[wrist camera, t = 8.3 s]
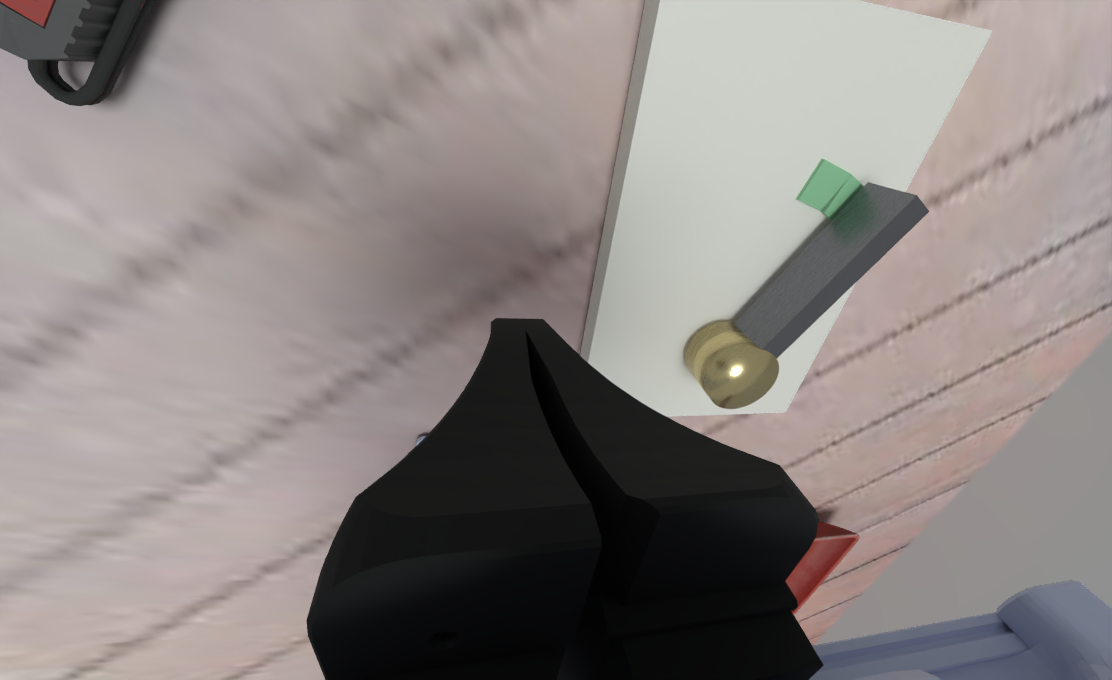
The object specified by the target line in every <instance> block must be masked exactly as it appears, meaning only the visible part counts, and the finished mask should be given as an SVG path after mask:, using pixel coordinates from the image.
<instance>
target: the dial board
mask: <svg viewBox="0 0 1112 680" xmlns="http://www.w3.org/2000/svg"><path fill="white" fill-rule="evenodd" d="M992 32H993V31H991V30H987V29H982V28H978V27H974V26H969V25H965V24H960V23H956V22H952V21H947V20H943V19H939V18H934V17H930V16H925V15H921V14H917V13H912V12H908V11H904V10H899V9H895V8H890V7H886V6H882V5H877V4H873V3H869V2H864V1H860V0H645V4H644V10H643V15H642V21H641V26H640V32H639V37H638V42H637V48H636V53H635V59H634V64H633V70H632V75H631V80H630V86H629V91H628V97H627V102H626V108H625V113H624V118H623V124H622V129H621V135H620V140H619V146H618V151H617V156H616V162H615V167H614V173H613V178H612V184H611V189H610V194H609V200H608V205H607V211H606V216H605V222H604V227H603V232H602V238H601V243H600V249H599V254H598V260H597V265H596V270H595V276H594V281H593V287H592V292H591V298H590V303H589V308H588V314H587V319H586V325H585V330H584V336H583V341H582V346H581V352H580V356H581V357H582V358H583V359H584V360H585V361H587V362H588V363H589V364H590V365H591V366H592V367H593V368H595V369H596V370H597V371H598V372H600V373H601V374H602V375H603V376H605V377H606V378H607V379H608V380H610V381H611V382H612V383H614V384H615V385H616V386H618V387H619V388H621V389H622V390H624V391H625V392H627V393H628V394H629V395H631V396H632V397H634V398H635V399H637V400H638V401H640V402H642V403H643V404H645V405H647V406H648V407H650V408H652V409H653V410H655V411H657V412H659V413H661V414H662V415H664V416H666V417H671V416H699V415H726V414H754V413H781V412H786V411H787V409H788V407H789V405H790V403H791V401H792V399H793V398H794V396H795V394H796V392H797V390H798V388H799V387H800V385H801V383H802V381H803V379H804V377H805V376H806V374H807V372H808V370H809V368H810V366H811V365H812V363H813V361H814V359H815V357H816V355H817V353H818V352H819V350H820V348H821V346H822V344H823V342H824V341H825V339H826V337H827V335H828V333H829V331H830V330H831V328H832V326H833V324H834V322H835V320H836V319H837V317H838V315H839V313H840V311H841V309H842V307H843V306H844V304H845V302H846V300H847V298H848V296H849V295H850V293H851V291H852V289H853V287H854V285H855V284H856V283H855V284H854V285H853V286H852V287H851V288H850V289H849V290H847V291H846V292H845V293H844V294H843V295H842V296H841V297H840V298H839V299H838V300H837V301H836V302H835V303H834V304H833V305H832V306H831V307H830V308H829V309H828V310H827V311H826V312H825V313H824V314H823V315H822V316H821V317H820V318H818V319H817V320H816V321H815V322H814V323H813V324H812V325H811V326H810V327H809V328H808V329H807V330H806V331H805V332H804V333H803V334H802V335H801V336H800V337H799V338H798V339H797V340H796V341H795V342H794V343H793V344H792V345H790V346H789V347H788V348H787V349H786V350H785V351H784V352H783V353H782V354H781V355H780V356H779V357H778V358H777V361H778V363H779V373H778V377H777V379H776V381H775V383H774V385H773V386H772V388H771V389H770V390H769V391H768V392H767V393H766V394H765V395H764V396H763V397H761V398H760V399H759V400H757V401H755V402H754V403H752V404H750V405H747V406H745V407H742V408H737V409H724V408H721V407H718V406H717V405H715V404H714V403H713V402H712V400H711V399H710V398H709V396H708V395H707V394H706V392H705V391H704V390H703V388H702V387H701V386H700V384H699V383H698V382H697V380H696V379H695V378H694V376H693V375H692V374H691V372H690V371H689V370H688V368H687V366H686V364H685V353H686V350H687V347H688V345H689V344H690V342H691V341H692V339H693V338H694V337H695V336H696V335H697V334H698V333H699V332H700V331H702V330H703V329H705V328H706V327H708V326H710V325H712V324H715V323H719V322H726V321H727V322H736V321H737V320H738V319H739V318H740V317H741V316H742V315H743V314H744V313H745V312H746V311H747V310H748V309H749V307H750V306H751V305H752V304H753V303H754V302H755V301H756V300H757V299H758V298H759V297H760V296H761V295H762V294H763V293H764V292H765V291H766V290H767V288H768V287H769V286H770V285H771V284H772V283H773V282H774V281H775V280H776V279H777V278H778V277H779V276H780V275H781V274H782V273H783V272H784V270H785V269H786V268H787V267H788V266H789V265H790V264H791V263H792V262H793V261H794V260H795V259H796V258H797V257H798V256H799V255H800V254H801V253H802V251H803V250H804V249H805V248H806V247H807V246H808V245H809V244H810V243H811V242H812V241H813V240H814V239H815V238H816V237H817V236H818V235H819V234H820V232H821V231H822V230H823V229H824V228H825V227H826V226H827V225H828V224H829V223H830V222H831V221H832V220H833V219H834V218H835V217H836V216H837V214H838V213H839V212H840V211H841V210H842V209H843V208H844V207H845V206H846V205H847V204H848V203H849V202H850V201H851V200H852V199H853V198H854V197H855V195H856V194H857V193H858V192H859V191H860V190H861V189H862V188H863V187H864V186H865V185H866V184H867V183H868V182H869V183H873V184H877V185H880V186H884V187H888V188H892V189H895V190H899V191H903V192H906V190H907V188H908V186H909V184H910V182H911V181H912V179H913V177H914V175H915V173H916V171H917V170H918V168H919V166H920V164H921V162H922V160H923V158H924V157H925V155H926V153H927V151H928V149H929V147H930V146H931V144H932V142H933V140H934V138H935V136H936V135H937V133H938V131H939V129H940V127H941V125H942V124H943V122H944V120H945V118H946V116H947V114H948V112H949V111H950V109H951V107H952V105H953V103H954V101H955V100H956V98H957V96H958V94H959V92H960V90H961V89H962V87H963V85H964V83H965V81H966V79H967V78H968V76H969V74H970V72H971V70H972V68H973V66H974V65H975V63H976V61H977V59H978V57H979V55H980V54H981V52H982V50H983V48H984V46H985V44H986V43H987V41H988V39H989V37H990V35H991V33H992Z"/></svg>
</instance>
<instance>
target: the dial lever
mask: <svg viewBox="0 0 1112 680" xmlns="http://www.w3.org/2000/svg"><path fill="white" fill-rule="evenodd" d="M928 212H929V211H928V209H927V208H926V207H925V205H924V204H923V203H922V202H921V200H920V199H919V198H918V196H917V195H914V194H910V193H906V192H903V191H899V190H895V189H892V188H888V187H884V186H880V185H877V184H873V183H869V182H868V183H867V184H866V185H865V186H864V187H863V188H862V189H861V190H860V191H859V192H858V193H857V194H856V195H855V197H854V198H853V199H852V200H851V201H850V202H849V203H848V204H847V205H846V206H845V207H844V208H843V209H842V210H841V211H840V212H839V213H838V214H837V216H836V217H835V218H834V219H833V220H832V221H831V222H830V223H829V224H828V225H827V226H826V227H825V228H824V229H823V230H822V231H821V232H820V234H819V235H818V236H817V237H816V238H815V239H814V240H813V241H812V242H811V243H810V244H809V245H808V246H807V247H806V248H805V249H804V250H803V251H802V253H801V254H800V255H799V256H798V257H797V258H796V259H795V260H794V261H793V262H792V263H791V264H790V265H789V266H788V267H787V268H786V269H785V270H784V272H783V273H782V274H781V275H780V276H779V277H778V278H777V279H776V280H775V281H774V282H773V283H772V284H771V285H770V286H769V287H768V288H767V290H766V291H765V292H764V293H763V294H762V295H761V296H760V297H759V298H758V299H757V300H756V301H755V302H754V303H753V304H752V305H751V306H750V307H749V309H748V310H747V311H746V312H745V313H744V314H743V315H742V316H741V317H740V318H739V319H738V320H737V321H736V322H727V321H726V322H719V323H715V324H712V325H710V326H708V327H706V328H705V329H703V330H702V331H700V332H699V333H698V334H697V335H696V336H695V337H694V338H693V339H692V341H691V342H690V344H689V345H688V347H687V350H686V353H685V364H686V366H687V368H688V370H689V371H690V372H691V374H692V375H693V376H694V378H695V379H696V380H697V382H698V383H699V384H700V386H701V387H702V388H703V390H704V391H705V392H706V394H707V395H708V396H709V398H710V399H711V400H712V402H713V403H714V404H715V405H717V406H718V407H721V408H724V409H737V408H742V407H745V406H747V405H750V404H752V403H754V402H755V401H757V400H759V399H760V398H761V397H763V396H764V395H765V394H766V393H767V392H768V391H769V390H770V389H771V388H772V386H773V385H774V383H775V381H776V379H777V377H778V373H779V363H778V361H777V358H778V357H779V356H780V355H781V354H782V353H783V352H784V351H785V350H786V349H787V348H788V347H789V346H790V345H792V344H793V343H794V342H795V341H796V340H797V339H798V338H799V337H800V336H801V335H802V334H803V333H804V332H805V331H806V330H807V329H808V328H809V327H810V326H811V325H812V324H813V323H814V322H815V321H816V320H817V319H818V318H820V317H821V316H822V315H823V314H824V313H825V312H826V311H827V310H828V309H829V308H830V307H831V306H832V305H833V304H834V303H835V302H836V301H837V300H838V299H839V298H840V297H841V296H842V295H843V294H844V293H845V292H846V291H847V290H849V289H850V288H851V287H852V286H853V285H854V284H855V283H856V282H857V281H858V280H859V279H860V278H861V277H862V276H863V275H864V274H865V273H866V272H867V271H868V270H869V269H870V268H871V267H872V266H873V265H874V264H875V263H876V262H878V261H879V260H880V259H881V258H882V257H883V256H884V255H885V254H886V253H887V252H888V251H889V250H890V249H891V248H892V247H893V246H894V245H895V244H896V243H897V242H898V241H899V240H900V239H901V238H902V237H903V236H904V235H906V234H907V233H908V232H909V231H910V230H911V229H912V228H913V227H914V226H915V225H916V224H917V223H918V222H919V221H920V220H921V219H922V218H923V217H924V216H925V215H926V214H927V213H928Z"/></svg>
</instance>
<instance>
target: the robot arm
mask: <svg viewBox="0 0 1112 680" xmlns="http://www.w3.org/2000/svg"><path fill="white" fill-rule="evenodd" d="M818 523H819V519H818V516H817V513H816V510H815V509H814V507H813V506H812V505H811V504H810V502H809V501H808V500H807V499H806V497H805V496H804V495H803V494H802V492H801V491H800V490H799V489H798V487H797V486H796V485H795V484H794V482H793V481H792V480H791V479H790V477H789V476H788V475H787V474H786V472H785V471H784V470H783V469H782V468H781V466H780V465H778V464H775V463H772V462H770V461H767V460H764V459H762V458H759V457H756V456H754V455H751V454H748V453H745V452H743V451H740V450H737V449H735V448H732V447H729V446H727V445H724V444H722V443H720V442H717V441H715V440H713V439H711V438H709V437H706V436H704V435H702V434H700V433H697V432H695V431H693V430H691V429H689V428H687V427H685V426H683V425H681V424H679V423H677V422H675V421H673V420H671V419H670V418H668V417H666V416H664V415H662V414H661V413H659V412H657V411H655V410H653V409H652V408H650V407H648V406H647V405H645V404H643V403H642V402H640V401H638V400H637V399H635V398H634V397H632V396H631V395H629V394H628V393H627V392H625V391H624V390H622V389H621V388H619V387H618V386H616V385H615V384H614V383H612V382H611V381H610V380H608V379H607V378H606V377H605V376H603V375H602V374H601V373H600V372H598V371H597V370H596V369H595V368H593V367H592V366H591V365H590V364H589V363H588V362H587V361H585V360H584V359H583V358H582V357H581V356H580V355H579V354H578V353H577V352H576V351H575V350H573V349H572V348H571V347H570V346H569V345H568V344H567V343H566V342H565V341H564V340H563V339H562V338H561V337H560V336H559V335H558V334H557V333H556V332H555V331H554V330H553V329H552V328H551V327H550V325H549V324H548V323H547V322H546V321H544V320H543V319H510V318H496V319H494V320H493V321H492V322H491V334H490V338H489V341H488V344H487V347H486V349H485V351H484V354H483V356H482V359H481V361H480V363H479V365H478V367H477V368H476V370H475V372H474V374H473V376H472V378H471V379H470V381H469V383H468V384H467V386H466V387H465V389H464V391H463V392H462V394H461V395H460V396H459V398H458V399H457V401H456V402H455V403H454V405H453V406H452V407H451V409H450V410H449V411H448V412H447V413H446V415H445V416H444V417H443V418H442V420H441V421H440V422H439V423H438V424H437V425H436V426H435V428H434V429H433V430H432V431H431V432H430V433H429V434H428V435H427V436H422V437H420V438H418V439H417V441H416V447H415V448H414V449H413V450H412V451H411V452H410V453H409V454H408V455H407V456H406V457H404V458H403V459H402V460H401V461H400V462H399V463H398V464H397V465H395V466H394V467H393V468H392V469H391V470H389V471H388V472H387V473H386V474H384V475H383V476H382V477H381V478H379V479H378V480H377V481H376V482H374V483H373V484H372V485H371V486H369V487H368V488H367V489H366V490H364V491H363V492H362V493H361V494H359V495H358V496H357V497H356V498H355V499H354V501H353V503H352V505H351V507H350V508H349V510H348V512H347V514H346V516H345V518H344V520H343V522H342V523H341V526H340V528H339V530H338V532H337V534H336V536H335V538H334V540H333V542H332V545H331V547H330V550H329V552H328V554H327V557H326V559H325V561H324V564H323V567H322V570H321V572H320V576H319V579H318V583H317V586H316V590H315V593H314V597H313V600H312V604H311V607H310V610H309V614H308V617H307V630H308V637H309V639H310V642H311V644H312V647H313V649H314V652H315V655H316V657H317V660H318V662H319V665H320V667H321V670H322V672H323V675H324V677H325V680H1112V609H1111V608H1110V607H1109V606H1108V605H1106V604H1105V603H1104V602H1103V601H1102V600H1100V599H1099V598H1098V597H1097V596H1096V595H1095V594H1093V593H1092V592H1091V591H1090V590H1089V589H1087V588H1086V587H1085V586H1084V585H1082V584H1081V583H1080V582H1078V581H1073V580H1068V581H1062V582H1056V583H1051V584H1044V585H1039V586H1034V587H1030V588H1027V589H1025V590H1023V591H1020V592H1018V593H1016V594H1015V595H1013V596H1012V597H1010V598H1009V599H1007V600H1006V601H1005V602H1003V603H1002V604H1001V605H1000V606H999V607H998V608H997V612H993V613H988V614H982V615H977V616H971V617H966V618H960V619H955V620H950V621H944V622H939V623H933V624H928V625H922V626H917V627H911V628H906V629H901V630H895V631H890V632H884V633H879V634H874V635H868V636H863V637H857V638H851V639H846V640H841V641H835V642H830V643H824V644H819V645H813V646H812V645H811V643H810V641H809V640H808V638H807V636H806V635H805V633H804V631H803V630H802V628H801V627H800V625H799V623H798V622H797V620H796V618H795V617H794V615H793V613H792V612H791V611H794V610H795V609H796V608H797V607H798V603H797V599H796V597H795V596H794V594H793V593H792V591H791V590H790V588H789V586H788V585H787V583H786V582H785V581H786V579H787V578H788V577H789V575H790V574H791V573H792V571H793V570H794V569H795V567H796V566H797V565H798V563H799V562H800V561H801V559H802V558H803V557H804V555H805V554H806V553H807V551H808V550H809V549H810V547H811V545H812V543H813V542H814V540H815V538H816V534H817V529H818Z"/></svg>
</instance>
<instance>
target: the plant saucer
mask: <svg viewBox="0 0 1112 680" xmlns="http://www.w3.org/2000/svg"><path fill="white" fill-rule="evenodd" d="M859 538H860V537H859V535H858V534H856V533H853V532H851V531H849V530H846V529H843V528H840V527H837V526H834V525H830V524H826V523H823V522H819V523H818V529H817V534H816V538H815V540H814V542H813V543H812V545H811V547H810V549H809V550H808V551H807V553H806V554H805V555H804V557H803V558H802V559H801V561H800V562H799V563H798V565H797V566H796V567H795V569H794V570H793V571H792V573H791V574H790V575H789V577H788V578H787V579H786V581H785V582H786V583H787V585H788V586H789V588H790V590H791V591H792V593H793V594H794V596H795V597H796V599H797V603H798V607H797V608H796V609H795V610H794V611H791V612H792V613H793V615H794V614H795V613H796V612H797V611H798V610H799V609H800V608H801V606H802V605H803V604H804V603H805V602H806V601H807V600H808V599H809V597H810V596H811V595H812V594H813V593H814V592H815V590H816V589H817V588H818V587H819V586H820V585H821V584H822V582H824V580H825V579H826V578H827V577H828V575H829V574H830V573H831V572H832V571H833V570H834V568H835V567H836V566H837V565H838V564H839V563H840V562H841V560H842V559H843V558H844V557H845V556H846V555H847V553H848V552H849V551H850V550H851V549H852V547H853V546H854V545H855V544H856V543H857V542H858V540H859Z"/></svg>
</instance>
